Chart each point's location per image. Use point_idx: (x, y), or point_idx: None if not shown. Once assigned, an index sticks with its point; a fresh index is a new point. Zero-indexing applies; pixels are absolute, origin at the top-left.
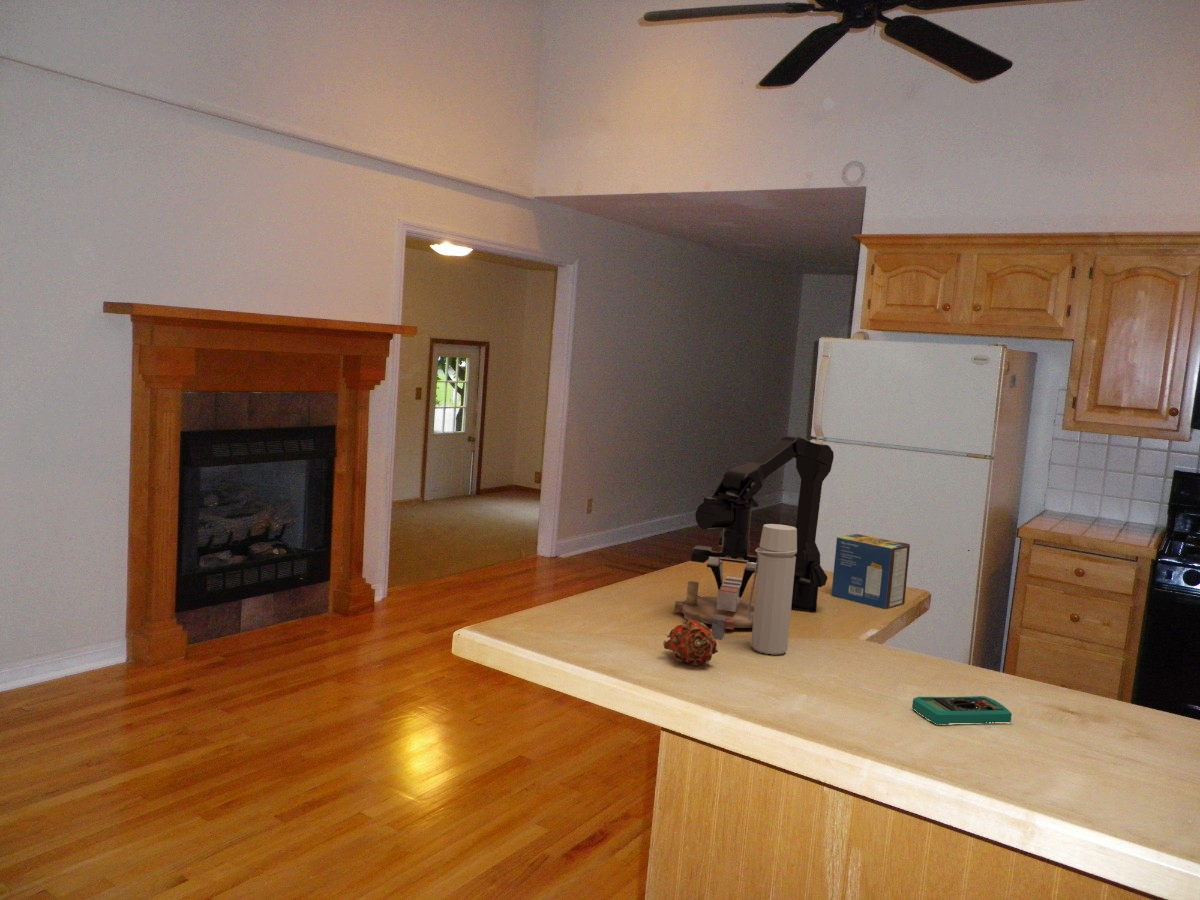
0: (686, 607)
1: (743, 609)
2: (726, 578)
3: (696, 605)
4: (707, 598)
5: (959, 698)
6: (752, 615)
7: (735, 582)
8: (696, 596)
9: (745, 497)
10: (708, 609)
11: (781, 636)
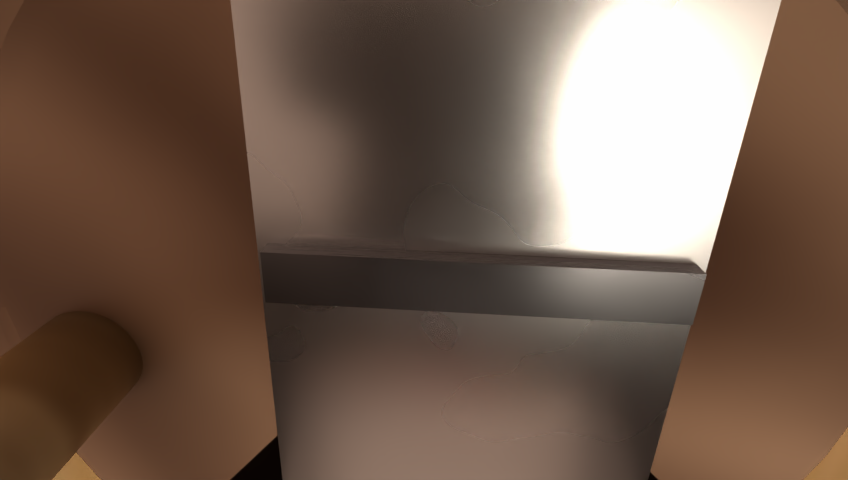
0: (100, 461)
1: None
2: (284, 285)
3: (146, 374)
4: (141, 22)
5: None
6: (661, 470)
7: (516, 454)
8: (83, 440)
9: None
10: None
11: None
